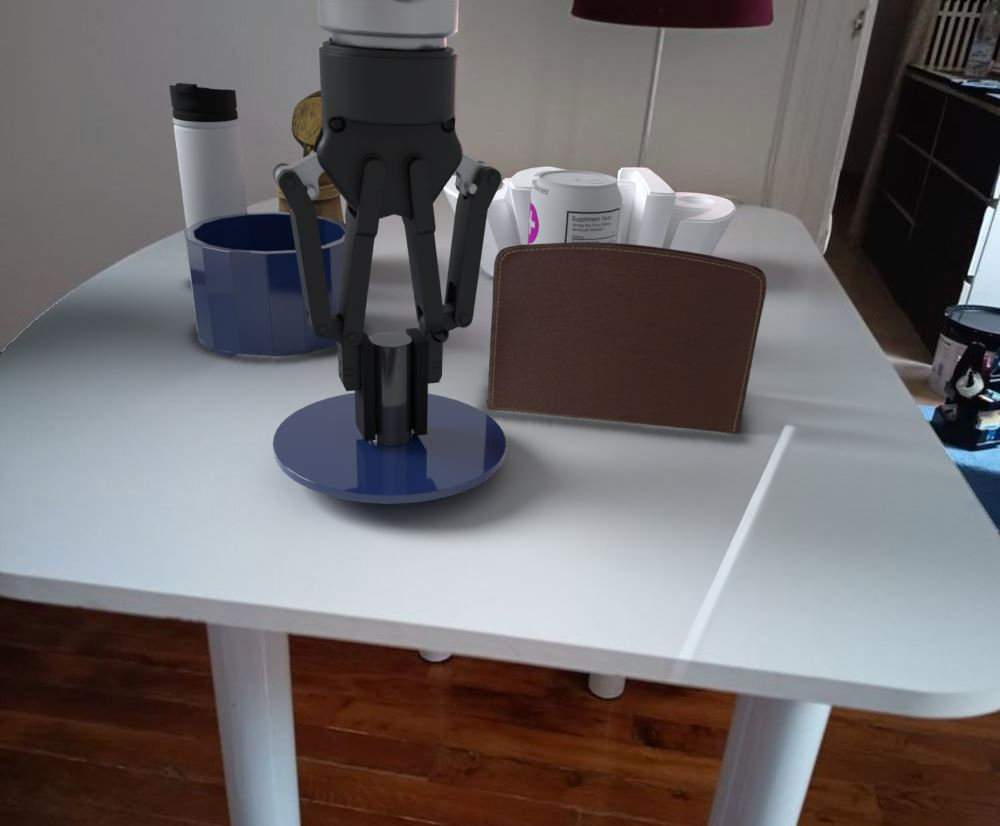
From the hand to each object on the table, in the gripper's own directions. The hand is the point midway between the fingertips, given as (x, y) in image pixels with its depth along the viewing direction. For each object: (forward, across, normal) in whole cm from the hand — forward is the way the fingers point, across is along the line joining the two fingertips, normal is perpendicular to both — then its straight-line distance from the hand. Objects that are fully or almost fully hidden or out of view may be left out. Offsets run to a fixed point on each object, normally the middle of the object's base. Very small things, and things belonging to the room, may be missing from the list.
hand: (391, 428), depth 61 cm
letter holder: (+4, +21, +8) cm, 22 cm away
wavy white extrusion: (+4, +35, +44) cm, 57 cm away
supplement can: (+4, +23, +22) cm, 32 cm away
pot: (+4, -3, +30) cm, 31 cm away
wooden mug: (+4, +4, +52) cm, 52 cm away
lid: (+1, 0, 0) cm, 1 cm away
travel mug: (+4, -7, +46) cm, 47 cm away
